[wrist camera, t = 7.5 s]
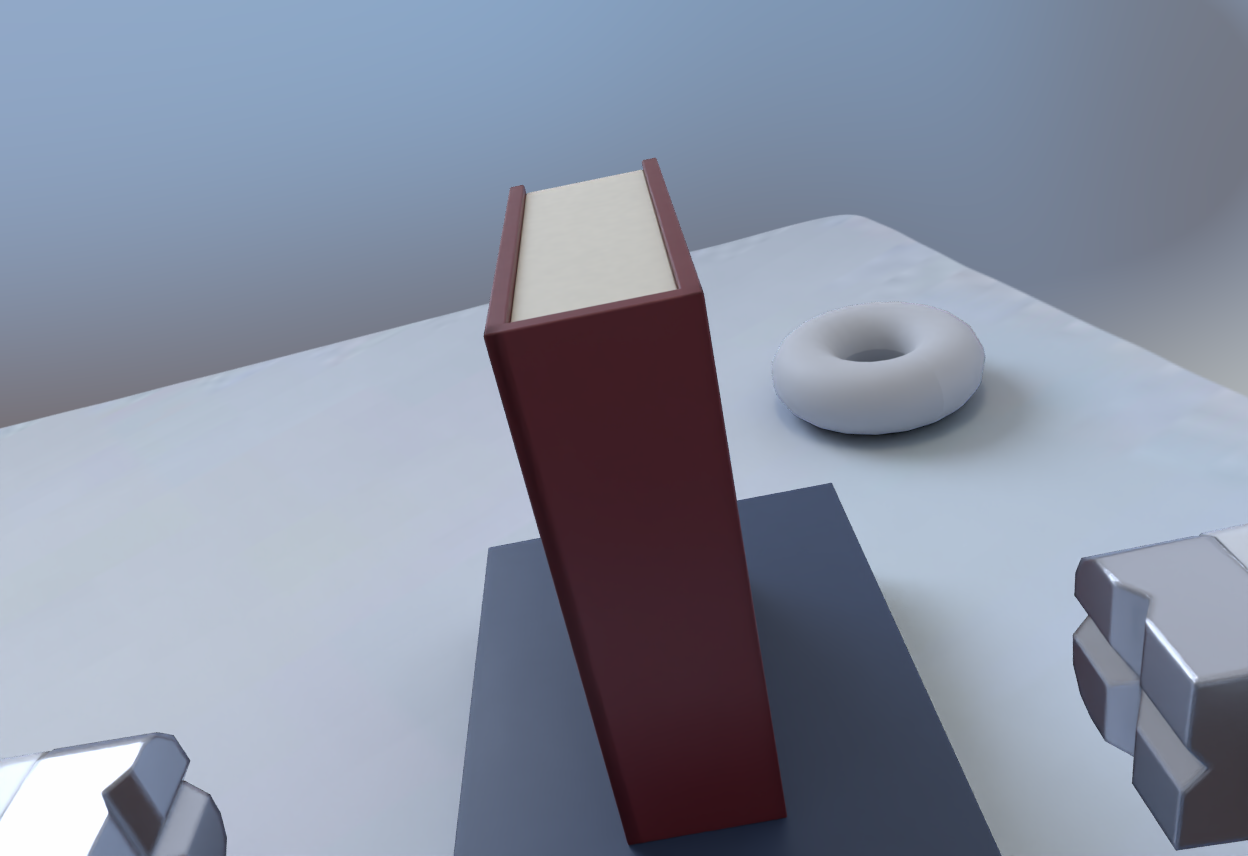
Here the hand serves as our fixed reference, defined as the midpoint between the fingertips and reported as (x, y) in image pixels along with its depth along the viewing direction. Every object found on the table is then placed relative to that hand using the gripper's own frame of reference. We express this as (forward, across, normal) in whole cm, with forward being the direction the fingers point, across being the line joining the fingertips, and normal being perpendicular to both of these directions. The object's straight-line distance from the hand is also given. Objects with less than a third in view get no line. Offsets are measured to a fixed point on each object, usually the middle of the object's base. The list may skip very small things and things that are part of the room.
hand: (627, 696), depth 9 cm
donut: (+36, -11, +18) cm, 41 cm away
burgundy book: (+15, 0, +14) cm, 20 cm away
